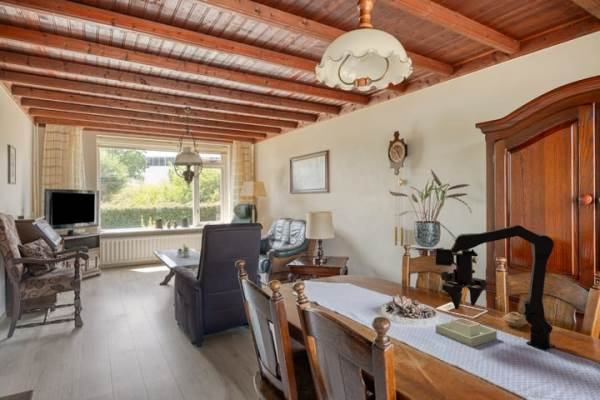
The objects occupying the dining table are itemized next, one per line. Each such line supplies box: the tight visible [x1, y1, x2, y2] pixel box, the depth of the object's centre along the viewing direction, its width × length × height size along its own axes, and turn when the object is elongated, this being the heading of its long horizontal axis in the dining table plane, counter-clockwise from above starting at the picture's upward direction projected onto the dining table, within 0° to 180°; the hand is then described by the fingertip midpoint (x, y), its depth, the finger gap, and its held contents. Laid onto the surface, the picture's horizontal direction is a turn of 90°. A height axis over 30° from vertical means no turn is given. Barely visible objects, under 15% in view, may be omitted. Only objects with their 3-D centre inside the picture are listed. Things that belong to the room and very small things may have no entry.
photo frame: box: [434, 301, 489, 320], centre depth 163 cm, size 15×1×18 cm
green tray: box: [435, 320, 498, 348], centre depth 133 cm, size 15×16×3 cm
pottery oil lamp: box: [501, 311, 529, 329], centre depth 144 cm, size 9×12×7 cm
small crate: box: [450, 317, 481, 337], centre depth 133 cm, size 6×8×4 cm
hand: (464, 307), depth 133 cm, fingers open, 9 cm apart
